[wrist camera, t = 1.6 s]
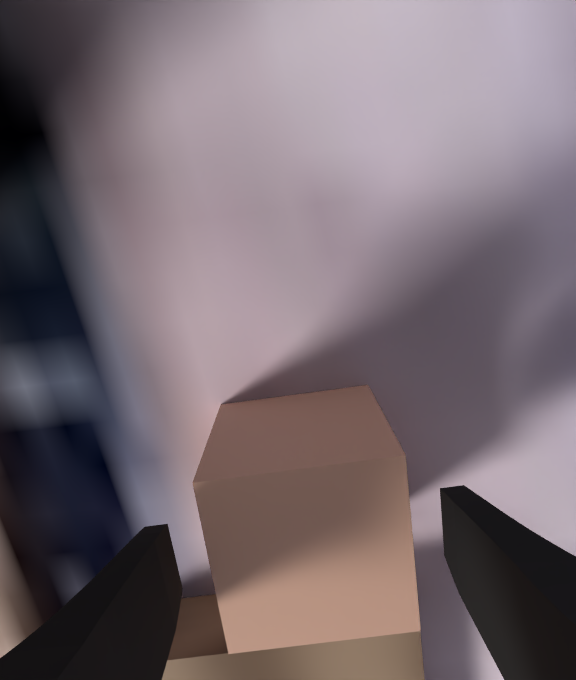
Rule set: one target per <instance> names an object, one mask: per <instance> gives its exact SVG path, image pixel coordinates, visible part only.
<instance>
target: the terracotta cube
mask: <svg viewBox="0 0 576 680" xmlns="http://www.w3.org/2000/svg"><path fill="white" fill-rule="evenodd" d="M193 487H194V492H195V497H196V501H197V506H198V511H199V516H200V521H201V525H202V530H203V535H204V540H205V545H206V549H207V554H208V559H209V564H210V568H211V573H212V578H213V583H214V588H215V592H216V597H217V602H218V607H219V611H220V616H221V621H222V626H223V631H224V635H225V640H226V645H227V650H228V654H233V653H242V652H250V651H259V650H267V649H275V648H284V647H292V646H300V645H309V644H317V643H325V642H334V641H342V640H351V639H359V638H367V637H376V636H384V635H392V634H401V633H409V632H417V631H421V629H420V617H419V605H418V594H417V582H416V570H415V559H414V547H413V535H412V523H411V512H410V500H409V488H408V476H407V465H406V455H405V453H404V451H403V449H402V447H401V446H400V444H399V442H398V440H397V438H396V436H395V434H394V432H393V431H392V429H391V427H390V425H389V423H388V421H387V419H386V418H385V416H384V414H383V412H382V410H381V408H380V406H379V405H378V403H377V401H376V399H375V397H374V395H373V393H372V391H371V390H370V388H369V386H368V385H363V386H356V387H348V388H341V389H333V390H326V391H318V392H311V393H303V394H295V395H288V396H280V397H273V398H265V399H258V400H250V401H243V402H235V403H228V404H221V406H220V408H219V411H218V414H217V417H216V419H215V422H214V425H213V428H212V430H211V433H210V436H209V439H208V442H207V444H206V447H205V450H204V453H203V455H202V458H201V461H200V464H199V466H198V469H197V472H196V475H195V477H194V480H193Z"/></svg>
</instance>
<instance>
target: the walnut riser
mask: <svg viewBox="0 0 576 680" xmlns="http://www.w3.org/2000/svg"><path fill="white" fill-rule="evenodd" d="M162 680H425V679H424V668H423V657H422V646H421V634H420V631H417V632H409V633H401V634H392V635H384V636H376V637H367V638H359V639H351V640H342V641H334V642H325V643H317V644H309V645H300V646H292V647H284V648H275V649H267V650H259V651H250V652H242V653H233V654H228V650H227V645H226V640H225V635H224V631H223V626H222V621H221V616H220V611H219V607H218V602H217V597H216V594H213V595H205V596H197V597H189V598H181V602H180V609H179V615H178V621H177V627H176V631H175V635H174V639H173V642H172V646H171V649H170V653H169V656H168V660H167V663H166V667H165V670H164V674H163V677H162Z"/></svg>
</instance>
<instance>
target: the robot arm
mask: <svg viewBox="0 0 576 680" xmlns="http://www.w3.org/2000/svg"><path fill="white" fill-rule="evenodd" d="M440 496H441V511H442V526H443V541H444V556H445V558H446V561H447V564H448V566H449V569H450V571H451V574H452V577H453V579H454V582H455V584H456V587H457V589H458V592H459V594H460V596H461V598H462V600H463V602H464V604H465V606H466V608H467V610H468V612H469V614H470V615H471V617H472V619H473V621H474V623H475V625H476V627H477V629H478V631H479V633H480V634H481V636H482V638H483V640H484V642H485V644H486V646H487V648H488V650H489V651H490V653H491V655H492V657H493V659H494V661H495V663H496V665H497V667H498V668H499V670H500V672H501V674H502V676H503V678H504V680H576V556H574V555H572V554H570V553H568V552H567V551H565V550H563V549H561V548H560V547H558V546H556V545H554V544H553V543H551V542H549V541H548V540H546V539H544V538H542V537H541V536H539V535H538V534H536V533H534V532H533V531H531V530H529V529H528V528H526V527H525V526H523V525H522V524H520V523H518V522H517V521H515V520H514V519H512V518H511V517H509V516H508V515H506V514H505V513H503V512H502V511H500V510H499V509H498V508H496V507H495V506H493V505H492V504H490V503H489V502H487V501H486V500H484V499H483V498H482V497H480V496H479V495H477V494H476V493H474V492H473V491H471V490H470V489H468V488H467V487H465V486H464V485H463V486H455V487H447V488H440ZM181 596H182V584H181V580H180V576H179V571H178V567H177V563H176V559H175V554H174V550H173V546H172V542H171V537H170V533H169V529H168V524H163V525H156V526H148V527H144V528H143V529H142V530H141V531H140V532H139V533H138V534H137V535H136V536H135V537H134V538H133V539H132V540H131V541H130V542H129V543H128V544H127V545H126V546H125V547H124V548H123V549H122V550H121V551H120V552H119V553H118V554H117V555H116V556H115V557H114V558H113V559H112V560H111V561H110V562H109V563H108V564H107V565H106V566H105V567H104V568H103V569H102V570H101V571H100V572H99V573H98V574H97V575H96V576H95V577H94V578H93V579H92V580H91V581H90V582H89V583H88V584H87V585H86V586H85V587H84V588H83V589H82V590H81V591H80V592H78V593H77V594H76V595H75V596H74V597H73V598H72V599H71V600H70V601H69V602H68V603H67V604H66V605H64V606H63V607H62V608H61V609H60V610H59V611H58V612H57V613H56V614H55V615H54V616H52V617H51V618H50V619H49V620H48V621H47V622H45V623H44V624H43V625H42V626H41V627H39V628H38V629H37V630H36V631H35V632H33V633H32V634H31V635H30V636H28V637H27V638H26V639H25V640H23V641H22V642H21V643H20V644H18V645H17V646H16V647H15V648H13V649H12V650H11V651H9V652H8V653H7V654H5V655H4V656H3V657H1V658H0V680H162V677H163V674H164V670H165V667H166V663H167V660H168V656H169V653H170V649H171V646H172V642H173V639H174V635H175V631H176V627H177V621H178V615H179V609H180V602H181Z"/></svg>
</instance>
